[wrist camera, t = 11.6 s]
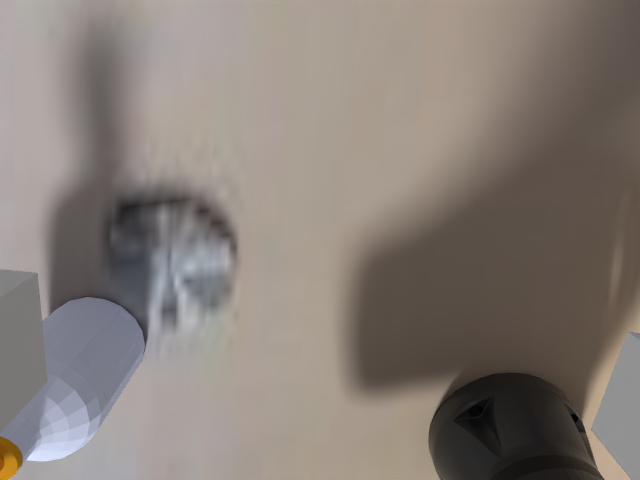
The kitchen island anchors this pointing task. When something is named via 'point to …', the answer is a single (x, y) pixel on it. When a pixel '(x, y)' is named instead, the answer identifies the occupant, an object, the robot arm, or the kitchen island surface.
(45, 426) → the soap bottle
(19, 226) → the kitchen island surface
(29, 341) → the robot arm
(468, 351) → the kitchen island surface
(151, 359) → the kitchen island surface
